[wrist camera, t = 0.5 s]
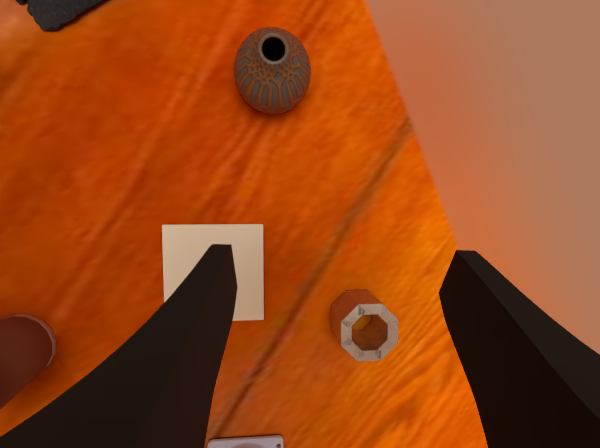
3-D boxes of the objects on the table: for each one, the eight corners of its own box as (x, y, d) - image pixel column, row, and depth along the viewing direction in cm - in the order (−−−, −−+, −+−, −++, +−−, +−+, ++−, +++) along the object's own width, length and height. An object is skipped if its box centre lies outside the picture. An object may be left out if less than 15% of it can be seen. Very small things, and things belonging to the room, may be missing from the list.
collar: (380, 338, 38) (397, 359, 33) (331, 340, 37) (340, 362, 32) (381, 289, 37) (398, 303, 32) (331, 290, 37) (341, 304, 32)
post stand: (263, 317, 36) (263, 339, 31) (166, 320, 35) (147, 343, 30) (263, 223, 35) (262, 228, 30) (163, 224, 34) (143, 229, 29)
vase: (319, 83, 35) (336, 44, 26) (276, 134, 35) (279, 113, 26) (267, 36, 34) (267, -20, 25) (223, 89, 34) (208, 51, 25)
